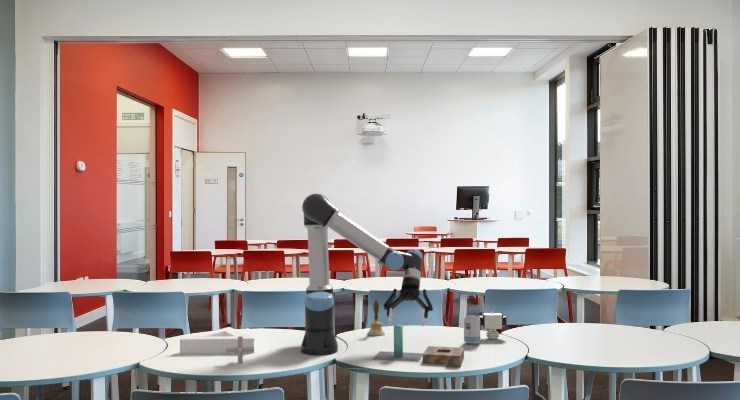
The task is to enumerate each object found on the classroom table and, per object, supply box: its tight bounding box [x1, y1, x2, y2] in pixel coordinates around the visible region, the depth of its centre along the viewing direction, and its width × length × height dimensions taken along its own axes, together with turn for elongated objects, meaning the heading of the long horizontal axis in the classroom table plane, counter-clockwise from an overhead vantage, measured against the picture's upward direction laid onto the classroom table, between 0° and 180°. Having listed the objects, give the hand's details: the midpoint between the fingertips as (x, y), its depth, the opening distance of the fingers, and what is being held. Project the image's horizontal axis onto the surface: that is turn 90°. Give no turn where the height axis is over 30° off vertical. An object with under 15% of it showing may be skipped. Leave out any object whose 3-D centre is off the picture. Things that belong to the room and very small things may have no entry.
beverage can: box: [463, 314, 481, 346], centre depth 273 cm, size 7×7×12 cm
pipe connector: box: [227, 336, 255, 365], centre depth 241 cm, size 10×10×10 cm
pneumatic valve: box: [478, 311, 508, 340], centre depth 283 cm, size 6×12×12 cm, turn 87°
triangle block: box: [179, 326, 255, 354], centre depth 271 cm, size 30×26×6 cm
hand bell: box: [366, 299, 386, 337], centre depth 294 cm, size 8×8×16 cm
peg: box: [393, 324, 404, 357], centre depth 248 cm, size 4×4×12 cm
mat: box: [371, 350, 424, 363], centre depth 248 cm, size 18×14×1 cm
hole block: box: [422, 345, 465, 368], centre depth 241 cm, size 14×14×4 cm
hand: (406, 323), depth 255 cm, fingers open, 13 cm apart
